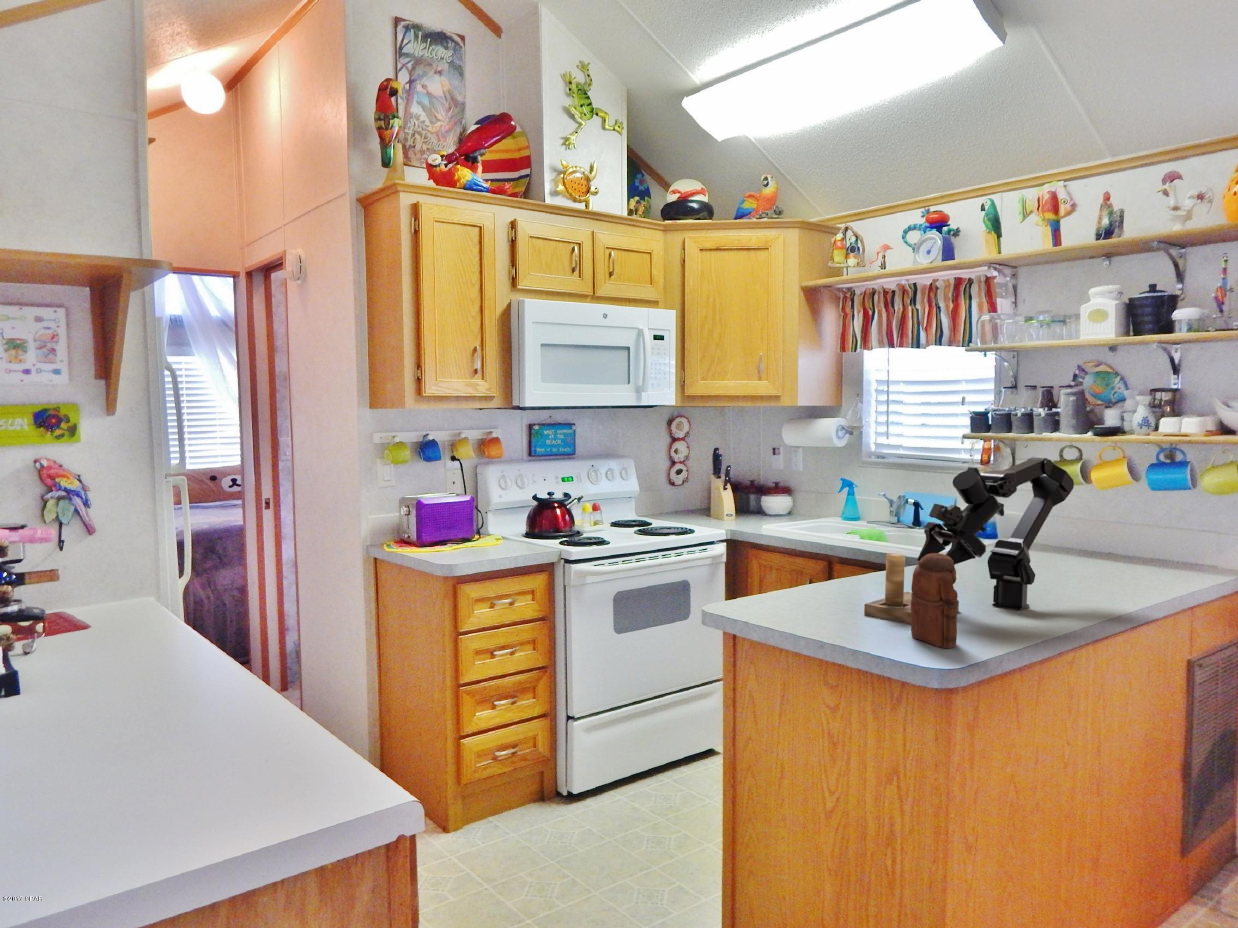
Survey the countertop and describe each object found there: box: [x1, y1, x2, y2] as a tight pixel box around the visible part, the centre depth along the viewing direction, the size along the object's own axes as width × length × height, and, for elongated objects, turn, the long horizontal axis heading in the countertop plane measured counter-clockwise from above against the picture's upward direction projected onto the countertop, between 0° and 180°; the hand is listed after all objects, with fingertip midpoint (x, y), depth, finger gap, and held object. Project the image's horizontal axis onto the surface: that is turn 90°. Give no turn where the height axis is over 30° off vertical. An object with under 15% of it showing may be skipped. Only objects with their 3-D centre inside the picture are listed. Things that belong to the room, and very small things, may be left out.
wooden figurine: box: [910, 552, 959, 649], centre depth 174 cm, size 12×6×18 cm, turn 21°
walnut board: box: [863, 591, 960, 625], centre depth 200 cm, size 13×20×2 cm, turn 134°
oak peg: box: [884, 552, 906, 608], centre depth 196 cm, size 4×4×14 cm
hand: (928, 564), depth 197 cm, fingers open, 9 cm apart
